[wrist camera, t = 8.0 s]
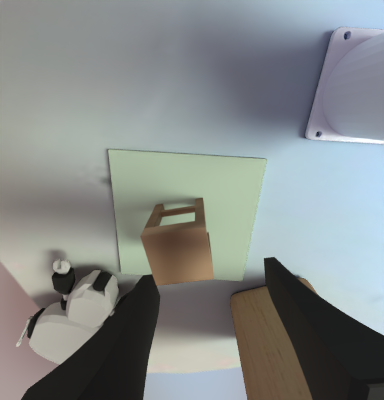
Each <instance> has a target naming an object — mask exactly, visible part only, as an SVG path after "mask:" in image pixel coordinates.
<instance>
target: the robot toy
mask: <svg viewBox="0 0 384 400" xmlns="http://www.w3.org/2000/svg"><path fill="white" fill-rule="evenodd" d="M70 266H71V264H70V262H69V260H66V259H63V260H62V261H61V259H57V260H55V261H54V262H53V269H54V270H55V271H56V272H54V274H53V276H52V281H53V286H54V289H55V290H56V291H58V292H59V293H61V294H63V299H62V300H61V302H58V303H53V304H51V305H50V306H49V307H47V308H42V309H41V310H40V311H38V312H37V313H36V314H35V315H34V316H31V317H30V318H29V319H28V321H27V325H26V327H25V329H24V331H23V334H22V335H21V337H20V339H19V341H18V342H17V345H16V347H18V346H19V345H20V344H21V342H22V339H23V337H24V334H25V332H26V330H27V328H28V335H27V336H28V338H30V342H29V345H30V347H32V349H33V350H34V351H35V352H36V353H37V354H39V355H41V356H42V357H44V358H46V359H48V360H50V361H53V362H55V363H58V364H61V363H63V362H64V361H65V360H66V359H68V358H69V357H70V356H71V355H72V354H73V353H75V352H76V351H77V350H78V349H79V348H80V347H81V346H82V345H83V344H84V343H85V342H87V341H88V340H89V339H90V338H91V337H92V336H93V335H94V334H95V333H96V332H97V331H98V330H99V329H100V328H101V327H102V326H103V325H104V324H105V323H106V321H107V320H108V319H109V318H110V317H111V316H112V315H113V313H114V312H115V311H116V310H117V309H118V307H119V306H120V305H121V304H122V303H123V301H124V300H125V299H126V297H127V296H128V295H129V294H130V292H131V291H130V292H129V293H127V294H126V295H124V296H123V297H121V299H120V300H119V301H118V303H117V305H116V307H115V308H114V309H113V307H114V305H115V303H116V301H117V298H118V296H119V289H118V287H117V279H116V278H115V277H114V276H113V275H112V277H111V279H110V274H109V273H107V272H101V273H100V271H101V270H94V271H93V272H92V273H90V274H89V275H88V276H85V277H83V278H82V279H81V280H80V281H79V282H78V284H77V285H76V286H75V288H74V289H73V290H72V288H73V285H74V283H75V280H76V279H75V274H74V268H71V267H70ZM99 273H100V274H99ZM98 274H99V275H98ZM109 279H110V280H109ZM71 290H72V292H71Z"/></svg>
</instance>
